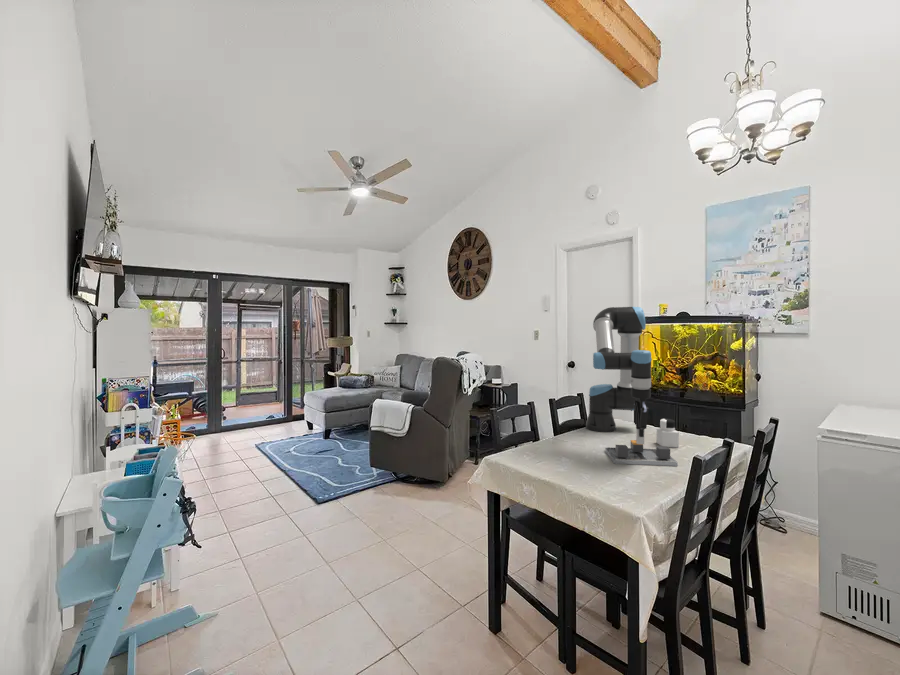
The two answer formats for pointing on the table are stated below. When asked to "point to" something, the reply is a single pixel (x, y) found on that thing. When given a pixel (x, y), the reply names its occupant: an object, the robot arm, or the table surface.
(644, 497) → the table surface
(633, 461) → the panel
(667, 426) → the medicine bottle
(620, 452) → the breaker
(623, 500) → the table surface
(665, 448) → the block
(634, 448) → the block
